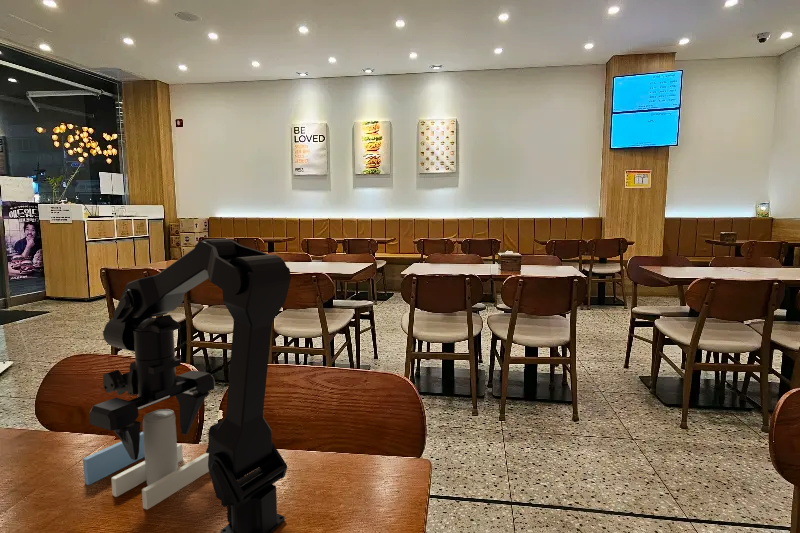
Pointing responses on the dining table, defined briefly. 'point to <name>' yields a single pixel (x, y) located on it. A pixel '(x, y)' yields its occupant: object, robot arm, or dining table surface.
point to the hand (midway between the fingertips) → (160, 446)
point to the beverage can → (159, 444)
